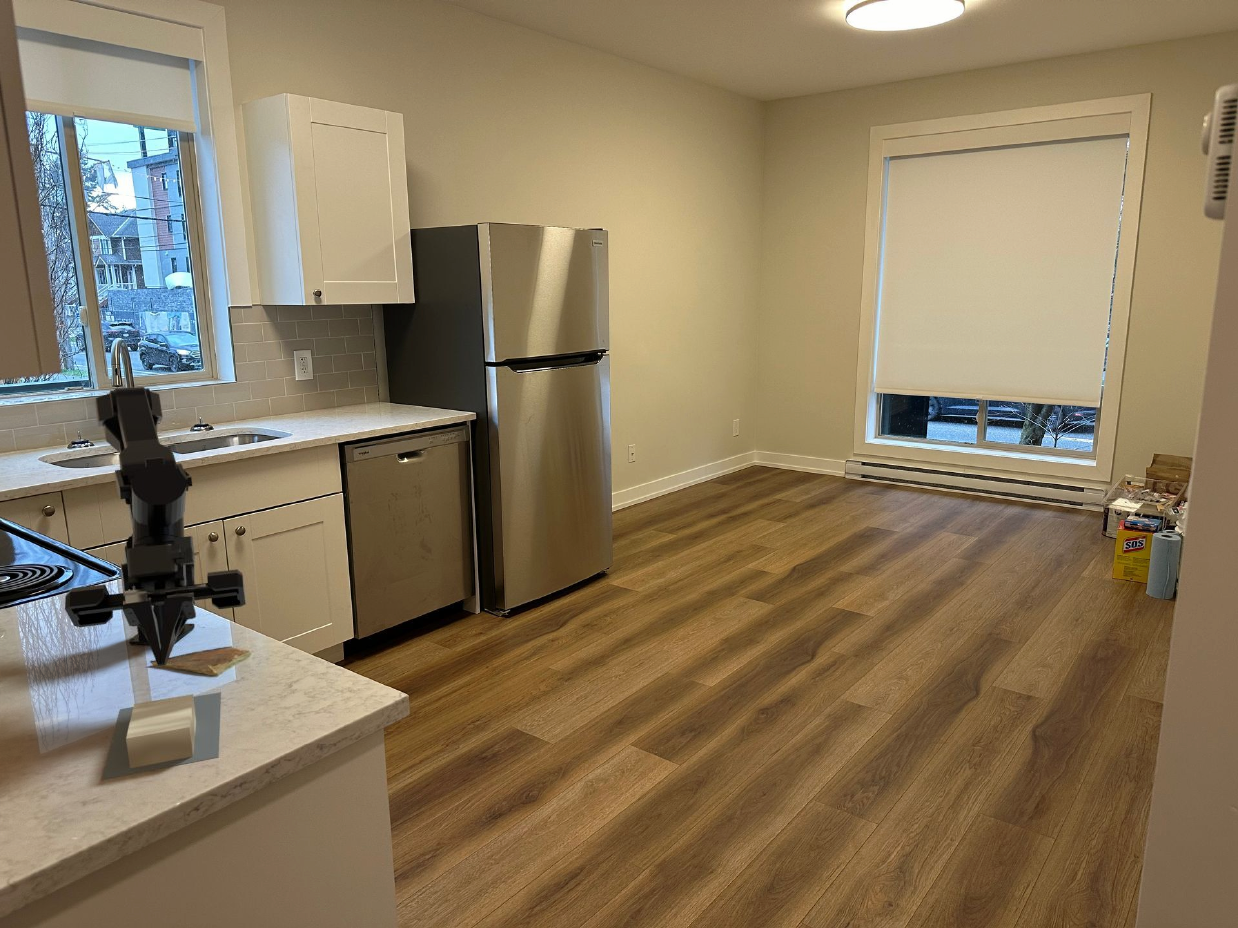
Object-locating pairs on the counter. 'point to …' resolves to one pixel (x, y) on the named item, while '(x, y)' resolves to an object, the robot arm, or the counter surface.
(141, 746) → the beige block
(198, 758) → the rubber mat
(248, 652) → the shard
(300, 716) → the counter surface
